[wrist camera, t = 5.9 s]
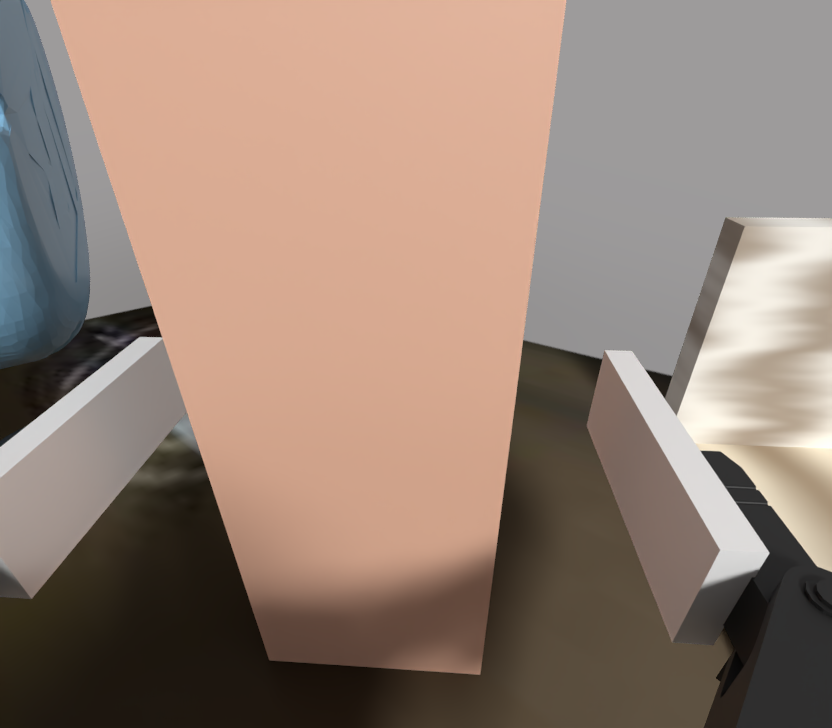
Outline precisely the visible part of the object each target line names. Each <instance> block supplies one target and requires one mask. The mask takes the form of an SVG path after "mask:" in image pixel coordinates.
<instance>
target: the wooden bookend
mask: <svg viewBox="0 0 832 728" xmlns="http://www.w3.org/2000/svg"><path fill="white" fill-rule="evenodd" d="M665 400H666V401H667V403H668V404H669V406H670V407H671V409H672V410H673V412H674V413H675V415H676V416H677V418H678V419H679V420H680V422H681V423H682V425H683V426H684V428H685V429H686V431H687V432H688V434H689V435H690V437H691V438H692V440H693V441H694V442H695V444H696V445H697V447H698V448H699V450H700V451H721V452H722V453H723V454H725V455H726V456H727V457H728V458H730V459H731V460H732V461H734V462H735V463H736V464H738V465H739V466H740V467H742V468H743V470H744V471H745V472H746V474H747V475H748V476H749V478H750V479H751V480H752V482H753V483H754V484H755V486H756V490H759V491H760V492H761V493H762V495H763V496H764V497H765V499H766V500H767V501H768V506H771V507H772V508H773V509H774V511H775V512H776V513H777V514H778V516H779V517H780V518H781V520H782V521H783V522H784V524H785V525H786V526H787V528H788V529H789V530H790V532H791V533H792V534H793V535H794V537H795V538H796V539H797V541H798V542H799V543H800V545H801V546H802V547H803V549H804V550H805V551H806V553H807V554H808V555H809V556H810V558H811V559H812V560H813V562H814V563H815V564H816V566H817V567H820V568H823V569H825V570H828V571H830V572H832V218H733V217H732V218H730V217H728V218H727V217H726V218H725V221H724V224H723V227H722V230H721V233H720V236H719V239H718V242H717V245H716V248H715V251H714V254H713V257H712V260H711V263H710V266H709V269H708V272H707V275H706V278H705V281H704V284H703V287H702V290H701V293H700V296H699V298H698V302H697V304H696V307H695V311H694V313H693V316H692V320H691V323H690V326H689V328H688V331H687V334H686V337H685V341H684V343H683V346H682V350H681V352H680V355H679V358H678V361H677V364H676V367H675V370H674V373H673V376H672V379H671V382H670V385H669V388H668V391H667V394H666V397H665Z"/></svg>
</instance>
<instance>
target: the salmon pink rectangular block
mask: <svg viewBox="0 0 832 728" xmlns="http://www.w3.org/2000/svg"><path fill="white" fill-rule="evenodd" d="M51 3H52V6H53V9H54V12H55V15H56V18H57V21H58V24H59V27H60V30H61V33H62V36H63V39H64V42H65V45H66V48H67V51H68V54H69V57H70V60H71V63H72V66H73V70H74V73H75V75H76V79H77V82H78V85H79V87H80V90H81V94H82V97H83V100H84V103H85V106H86V109H87V111H88V114H89V117H90V121H91V124H92V127H93V130H94V133H95V136H96V139H97V142H98V145H99V148H100V151H101V154H102V157H103V160H104V163H105V166H106V169H107V172H108V175H109V178H110V181H111V184H112V187H113V190H114V193H115V196H116V199H117V202H118V205H119V208H120V211H121V214H122V217H123V220H124V223H125V226H126V229H127V232H128V235H129V238H130V241H131V244H132V248H133V251H134V254H135V257H136V260H137V263H138V265H139V268H140V272H141V275H142V277H143V281H144V284H145V287H146V289H147V293H148V296H149V299H150V302H151V305H152V308H153V311H154V314H155V317H156V320H157V323H158V326H159V329H160V332H161V335H162V338H163V341H164V344H165V347H166V350H167V353H168V356H169V359H170V362H171V365H172V368H173V371H174V374H175V377H176V380H177V383H178V386H179V389H180V392H181V395H182V398H183V401H184V404H185V407H186V410H187V413H188V416H189V419H190V423H191V426H192V429H193V432H194V435H195V438H196V441H197V444H198V447H199V450H200V453H201V456H202V459H203V462H204V465H205V468H206V471H207V474H208V477H209V480H210V483H211V486H212V489H213V492H214V495H215V498H216V501H217V504H218V507H219V510H220V513H221V516H222V519H223V522H224V525H225V528H226V531H227V534H228V537H229V540H230V543H231V546H232V549H233V552H234V555H235V558H236V561H237V564H238V567H239V570H240V573H241V576H242V579H243V582H244V585H245V588H246V591H247V594H248V597H249V600H250V604H251V607H252V610H253V613H254V616H255V619H256V622H257V625H258V628H259V631H260V634H261V637H262V640H263V643H264V646H265V649H266V652H267V655H268V658H269V660H271V661H286V662H300V663H315V664H330V665H345V666H359V667H374V668H389V669H404V670H418V671H433V672H448V673H463V674H477V675H480V673H481V665H482V657H483V650H484V642H485V634H486V626H487V618H488V610H489V603H490V595H491V587H492V579H493V571H494V563H495V555H496V548H497V540H498V532H499V524H500V516H501V508H502V501H503V493H504V485H505V477H506V469H507V461H508V454H509V446H510V438H511V430H512V422H513V414H514V407H515V399H516V391H517V383H518V375H519V367H520V360H521V352H522V344H523V336H524V328H525V320H526V313H527V305H528V297H529V288H530V280H531V272H532V265H533V258H534V250H535V242H536V234H537V226H538V218H539V211H540V203H541V194H542V187H543V179H544V171H545V163H546V156H547V148H548V140H549V131H550V124H551V117H552V109H553V101H554V93H555V85H556V76H557V69H558V62H559V53H560V46H561V38H562V30H563V23H564V14H565V7H566V0H51Z"/></svg>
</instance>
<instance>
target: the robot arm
mask: <svg viewBox="0 0 832 728" xmlns="http://www.w3.org/2000/svg"><path fill="white" fill-rule="evenodd" d="M89 294H90V268H89V253H88V244H87V237H86V229H85V221H84V215H83V208H82V202H81V197H80V191H79V186H78V180H77V175H76V170H75V165H74V160H73V156H72V151H71V147H70V142H69V138H68V134H67V130H66V126H65V121H64V117H63V113H62V110H61V106H60V102H59V99H58V95H57V91H56V88H55V84H54V81H53V77H52V74H51V71H50V67H49V65H48V61H47V58H46V55H45V51H44V48H43V46H42V42H41V39H40V36H39V34H38V31H37V28H36V25H35V23H34V20H33V17H32V15H31V13H30V10H29V8H28V6H27V5H26V3H25V1H24V0H0V369H3V368H8V367H12V366H16V365H21V364H25V363H29V362H33V361H38V360H41V359H43V358H46V357H48V356H49V355H50V354H53V353H55V352H58V351H59V350H61V349H62V348H64V347H65V346H66V345H67V344H68V343H69V342H70V341H71V340H72V339H73V338H74V337H75V336H76V335H77V334H78V333H79V331H80V329H81V327H82V325H83V323H84V320H85V317H86V314H87V309H88V302H89ZM186 412H187V410H186V407H185V404H184V401H183V398H182V395H181V392H180V389H179V386H178V383H177V380H176V377H175V374H174V371H173V368H172V365H171V362H170V359H169V356H168V353H167V350H166V347H165V344H164V341H163V338H160V337H139V338H138V339H137V340H135V341H134V342H133V343H131V344H130V345H129V346H128V347H126V348H125V349H124V350H123V351H121V352H120V353H119V354H118V355H116V356H115V357H114V358H112V359H111V360H110V361H109V362H107V363H106V364H105V365H104V366H102V367H101V368H100V369H99V370H97V371H96V372H95V373H93V374H92V375H91V376H90V377H88V378H87V379H86V380H85V381H83V382H82V383H81V384H80V385H78V386H77V387H76V388H74V389H73V390H72V391H71V392H69V393H68V394H67V395H66V396H64V397H63V398H62V399H61V400H59V401H58V402H57V403H55V404H54V405H53V406H52V407H50V408H49V409H48V410H47V411H45V412H44V413H43V414H41V415H40V416H39V417H38V418H36V419H35V420H34V421H33V422H31V423H30V424H29V425H27V426H25V427H23V428H21V429H20V430H18V431H16V432H14V433H12V434H10V435H8V436H6V437H5V438H3V439H2V440H1V441H0V597H10V598H25V599H32V598H33V597H34V595H35V594H36V593H37V592H38V591H39V589H40V588H41V587H42V586H43V585H44V583H45V582H46V581H47V580H48V579H49V577H50V576H51V575H52V574H53V573H54V571H55V570H56V569H57V568H58V566H59V565H60V564H61V563H62V562H63V560H64V559H65V558H66V557H67V556H68V554H69V553H70V552H71V551H72V550H73V548H74V547H75V546H76V545H77V544H78V542H79V541H80V540H81V539H82V537H83V536H84V535H85V534H86V533H87V531H88V530H89V529H90V528H91V527H92V525H93V524H94V523H95V522H96V521H97V519H98V518H99V517H100V516H101V515H102V513H103V512H104V511H105V510H106V509H107V507H108V506H109V505H110V504H111V502H112V501H113V500H114V499H115V498H116V496H117V495H118V494H119V493H120V492H121V490H122V489H123V488H124V487H125V486H126V484H127V483H128V482H129V481H130V480H131V478H132V477H133V476H134V475H135V473H136V472H137V471H138V470H139V469H140V467H141V466H142V465H143V464H144V463H145V461H146V460H147V459H148V458H149V457H150V455H151V454H152V453H153V452H154V451H155V449H156V448H157V447H158V446H159V445H160V443H161V442H162V441H163V440H164V438H165V437H166V436H167V435H168V434H169V432H170V431H171V430H172V429H173V428H174V426H175V425H176V424H177V423H178V422H179V420H180V419H181V418H182V417H183V416H184V414H185V413H186ZM587 428H588V430H589V433H590V435H591V438H592V441H593V443H594V446H595V448H596V451H597V453H598V456H599V458H600V461H601V463H602V466H603V468H604V471H605V474H606V476H607V479H608V481H609V484H610V486H611V489H612V491H613V494H614V496H615V499H616V501H617V504H618V506H619V509H620V512H621V514H622V517H623V519H624V522H625V524H626V527H627V529H628V532H629V534H630V537H631V539H632V542H633V544H634V547H635V550H636V552H637V555H638V557H639V560H640V562H641V565H642V567H643V570H644V572H645V575H646V577H647V580H648V582H649V585H650V588H651V590H652V593H653V595H654V598H655V600H656V603H657V605H658V608H659V610H660V613H661V615H662V618H663V620H664V623H665V626H666V628H667V631H668V633H669V636H670V638H671V641H672V642H675V643H689V644H704V645H714V643H715V642H716V640H717V638H718V637H719V635H720V633H721V632H722V630H723V628H725V630H726V632H727V634H728V636H729V638H730V640H731V642H732V644H733V646H734V648H735V650H734V651H733V653H732V654H731V656H730V657H729V659H728V660H727V662H726V663H725V665H724V666H723V668H722V669H721V671H720V672H719V674H718V675H717V677H716V679H718V680H719V681H721V682H720V685H719V688H718V690H717V693H716V696H715V698H714V701H713V704H712V707H711V709H710V712H709V715H708V718H707V720H706V723H705V726H704V728H832V572H830V571H828V570H825V569H823V568H820V567H817V566H816V564H815V563H814V562H813V560H812V559H811V558H810V556H809V555H808V554H807V553H806V551H805V550H804V549H803V547H802V546H801V545H800V543H799V542H798V541H797V539H796V538H795V537H794V535H793V534H792V533H791V532H790V530H789V529H788V528H787V526H786V525H785V524H784V522H783V521H782V520H781V518H780V517H779V516H778V514H777V513H776V512H775V511H774V509H773V508H772V507H771V506H768V501H767V500H766V499H765V497H764V496H763V495H762V493H761V492H760V491H759V490H756V486H755V484H754V483H753V482H752V480H751V479H750V478H749V476H748V475H747V474H746V472H745V471H744V470H743V468H742V467H740V466H739V465H738V464H736V463H735V462H734V461H732V460H731V459H730V458H728V457H727V456H726V455H725V454H723V453H722V452H721V451H700V450H699V448H698V447H697V445H696V444H695V442H694V441H693V440H692V438H691V437H690V435H689V434H688V432H687V431H686V429H685V428H684V426H683V425H682V423H681V422H680V420H679V419H678V418H677V416H676V415H675V413H674V412H673V410H672V409H671V407H670V406H669V404H668V403H667V401H666V400H665V398H664V397H663V395H662V394H661V393H660V391H659V390H658V388H657V387H656V385H655V384H654V382H653V381H652V379H651V378H650V376H649V375H648V373H647V372H646V371H645V369H644V368H643V366H642V365H641V363H640V362H639V360H638V359H637V357H636V356H635V354H634V353H633V352H632V351H619V350H605V351H604V355H603V359H602V363H601V367H600V372H599V376H598V380H597V384H596V389H595V393H594V397H593V401H592V405H591V410H590V414H589V418H588V422H587Z"/></svg>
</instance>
